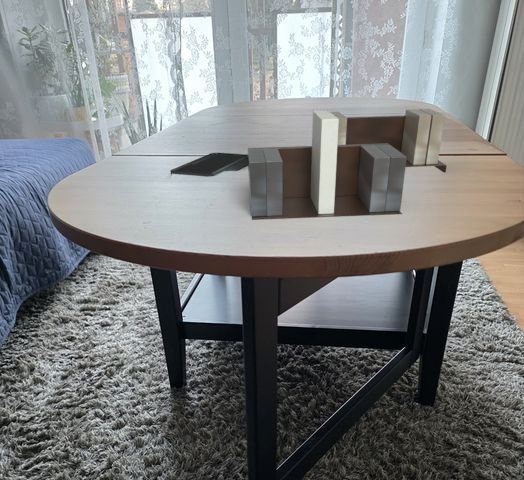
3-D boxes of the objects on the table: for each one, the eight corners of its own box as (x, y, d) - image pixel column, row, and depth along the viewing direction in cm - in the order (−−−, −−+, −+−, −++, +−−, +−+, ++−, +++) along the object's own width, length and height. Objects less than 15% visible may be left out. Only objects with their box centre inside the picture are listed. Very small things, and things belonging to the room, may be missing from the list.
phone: (253, 154, 86) (212, 174, 74) (253, 161, 87) (213, 182, 75) (212, 152, 89) (166, 171, 77) (213, 159, 89) (167, 178, 78)
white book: (324, 197, 64) (328, 110, 59) (333, 213, 58) (338, 118, 53) (310, 197, 64) (312, 110, 59) (318, 214, 58) (321, 119, 53)
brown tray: (426, 159, 85) (434, 107, 81) (445, 172, 78) (455, 115, 74) (320, 163, 85) (322, 111, 81) (329, 176, 77) (332, 119, 73)
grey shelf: (382, 200, 66) (388, 143, 62) (401, 222, 58) (409, 158, 54) (249, 205, 65) (247, 148, 61) (251, 228, 57) (249, 164, 54)
